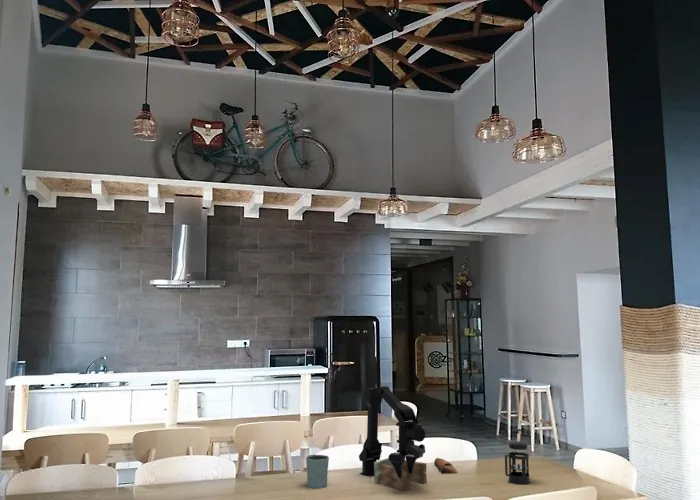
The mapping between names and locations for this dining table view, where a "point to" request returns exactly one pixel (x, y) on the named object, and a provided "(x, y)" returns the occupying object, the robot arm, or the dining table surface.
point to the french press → (514, 476)
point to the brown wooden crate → (379, 478)
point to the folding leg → (392, 472)
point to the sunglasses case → (445, 466)
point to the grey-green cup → (317, 471)
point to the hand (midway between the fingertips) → (405, 475)
